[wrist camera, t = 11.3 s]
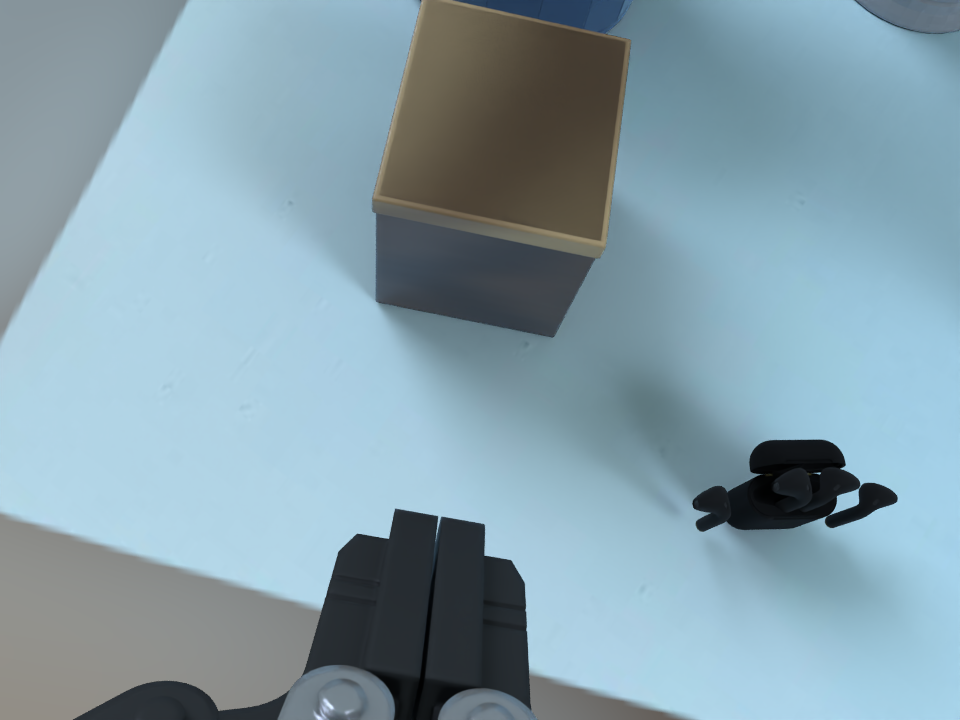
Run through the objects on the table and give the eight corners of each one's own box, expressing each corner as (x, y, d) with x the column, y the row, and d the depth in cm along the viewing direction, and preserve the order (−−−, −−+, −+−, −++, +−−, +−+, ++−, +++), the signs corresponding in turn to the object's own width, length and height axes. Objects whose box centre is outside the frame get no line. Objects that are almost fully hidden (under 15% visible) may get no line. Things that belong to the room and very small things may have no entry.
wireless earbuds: (666, 535, 30) (721, 509, 25) (658, 467, 31) (709, 429, 26) (848, 530, 31) (934, 504, 26) (835, 464, 32) (916, 427, 27)
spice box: (371, 304, 32) (371, 199, 25) (413, 129, 35) (423, -8, 28) (555, 341, 32) (606, 247, 25) (581, 165, 35) (632, 38, 28)
